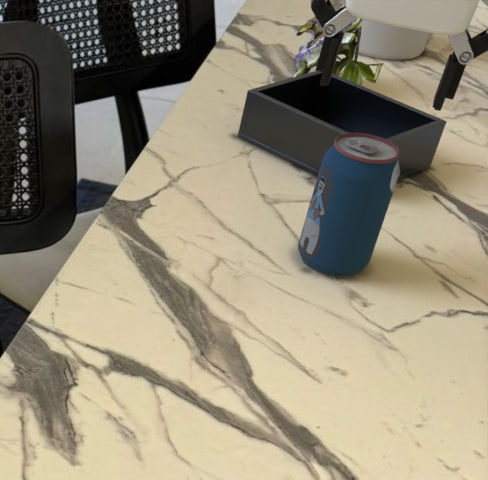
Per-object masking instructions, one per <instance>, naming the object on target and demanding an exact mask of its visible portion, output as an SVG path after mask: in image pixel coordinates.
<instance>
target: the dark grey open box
mask: <svg viewBox="0 0 488 480" xmlns="http://www.w3.org/2000/svg"><path fill="white" fill-rule="evenodd" d="M322 74H323V72H320V71H316V70H313V71H309V72H308V73H307V74H303V75H300V76H296V77H293V76H292V77H289V78H286V79H283V80H278V81H277V82H276V81H275V82H271V83H269V84H265V85H262V86H258V87H255V88H252V89H251V88H250V89H247V93H246V97H245V100H244V101H245V102H244V106H243V110H242V114H241V119H240V123H239V128H238V133H237V138H238V139H240V140H242V141H244V142H246V143H248V144H250V145H252V146H254V147H256V148H258V149H260V150H263V151H264V152H267V153H269V154H271V155H273V156H274V157H277V158H279V159H281V160H283V161H285V162H287V163H289V164H291V165H292V166H295V167H297V168H299V169H301V170H303V171H305V172H307V173H309V174H311V175H313V176H316V177H318V174H319V170H320V167H321V163H322V160H323V157H324V155H325V153H326V152H327V151H328V150H329V149H330V148H331V147H332V146H333V145H334V142H335V139H336V138H337V137H338V136H340V135H342V134H346V133H364V134H370V135H374V136H378V137H381V138H384V139H386V140H389V141H390V142H392V143H393V144H395V145H396V146H397V148H398V149H399V156H398V161H399V167H400V174H399V177H398V180H397V182H400V181H402V180H404V179H407V178H409V177H412V176H415V175H417V174H419V173H422V172H425V171H427V170H429V169H430V168H431V166H432V164H433V161H434V157H435V155H436V152H437V150H438V147H439V144H440V142H441V138H442V135H443V132H444V130H445V127H446V125H447V121H446V120H444V119H442V118H440V117H437V116H435V115H433V114H430V113H428V112H425V111H424V110H420V109H418V108H416V107H413V106H411V105H409V104H406V103H404V102H402V101H399V100H396V99H394V98H392V97H390V96H387V95H385V94H382V93H380V92H377V91H375V90H372V89H370V88H368V87H366V86H363V85H362V84H361V85H358V84H356V83H354V82H351V81H349V80H347V79H344V78H342V76H340V75H339V76H337V75H335V74H332V77H331V79H330V81H329V84H328V85H326V86H321V85H319V84H320V81H321V77H322Z"/></svg>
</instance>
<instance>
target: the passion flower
mask: <svg viewBox="0 0 488 480" xmlns="http://www.w3.org/2000/svg"><path fill="white" fill-rule="evenodd" d="M362 20H363V19H360V18H357V19H355V20H354V21H353V22H351V23H350V24H349V25H347V26H346V27H345V28H343V31H342V32H344V36H343V39H342V43H341V46H340V50H339V53H338V56H337V60H336V63H335V67H334V70H333V74H335V75H337V76H339V77H340V73H341V71H342V70H343V72H342V76H341V77H342V78H344V79H347V80H349V81H351V82H354V83H356V84H358V85H361V86H362V84H363V77H364V78H365V80H366V81H368V82H370V83H372V84H377V81H378V80H379V79H378V78H379V75H380V73H381V69H382V67H383V66H384V65H385V64H384V63H383V62H382V63H379V62H378V63H365V62H363V61H358V58H359V53H358V52H359V43H360V38H361V29H362V27H361V23H362V22H361V21H362ZM317 24H319V22H318V20H317V18H316V16H315V15H314V17H312V18H311V19H310V18H309V19H308V20H307V22H306V23H305V24H303V25H302V26H301V27H300V28H299V29H298V31H297V32H296V34H295V36H296V37H300V36H301V35H303V34H304V33H306V32H308V31H310V30H311V31H313V34H312V36H311V38H310V39H309V40H308V41H306V42H305V43H304V45H301V46H299V49H298V53H297V54H295V57H294V59H293V61H294V65H295V68H296V69H297V72H295V73H294V75H293V76H292V78H293V77H296V76H300V75H303V74H307V73H310V72H311V70H312V68H316V66H317V63H318V59H319V55H320V52H321V48H322V45H323V41H324V37H325V35H324V34H323V29H321V31H320V30H318V28H317V26H316V25H317ZM353 31H355V32H353ZM356 37H357V42H356ZM355 50H356V51H355ZM340 55H343V56H345V57H342V58H341V57H340ZM371 66H372V67H376V68H375V73H374V71H373V70H372V68H371Z"/></svg>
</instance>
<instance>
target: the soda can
mask: <svg viewBox="0 0 488 480" xmlns="http://www.w3.org/2000/svg"><path fill="white" fill-rule="evenodd" d="M398 156H399V149H398V148H397V146H396V145H395V144H393V143H392V142H390V141H389V140H386V139H384V138H381V137H378V136H374V135H370V134H364V133H346V134H342V135H340V136H338V137H337V138H336V139H335V142H334V145H333V146H332V147H331V148H330V149H329V150H328V151H327V152H326V153H325V155H324V157H323V160H322V163H321V167H320V170H319V174H318V177H317V176H316V177H317V178H316V181H315V184H314V187H313V188H314V189H313V191H312V195H311V198H310V201H309V205H308V209H307V212H306V216H305V219H304V222H303V226H302V230H301V233H300V237H299V240H298V243H297V247H298V252H299V256H300V258H301V261H302V263H303V264H304V265H305V266H306V267H307V268H308V269H310V270H312V271H314V272H316V273H318V274H321V275H325V276H329V277H334V278H347V277H348V278H349V277H353V276H356V275H357V274H358V273H360V272H361V271H363V270H364V269H365V268H366V267H367V266H368V265H369V263H370V262H371V259H372V256H373V253H374V251H375V247H376V244H377V242H378V238H379V236H380V233H381V230H382V228H383V224H384V221H385V218H386V215H387V212H388V209H389V206H390V203H391V201H392V197H393V194H394V191H395V189H396V186H397V182H398V181H397V180H398V177H399V174H400V167H399V161H398Z"/></svg>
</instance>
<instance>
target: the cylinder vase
mask: <svg viewBox="0 0 488 480" xmlns="http://www.w3.org/2000/svg"><path fill="white" fill-rule="evenodd" d="M345 3H346V1H345V2H344V4H345ZM361 22H362V23H361V27H362V29H361V38H360V43H359V52H358V55H359V54H360V55H361V56H362V55H363V56H366V57H370V58H375V59H381V60H388V61H389V60H390V61H405V60H412V59H415V58H417V57H419V56H420V55H421V54H422V53H423V52H424V51H425V48H426V46H427V43H428V39H429V35H430V33H427V32H422V31H417V30H412V29H407V28H402V27H397V26H392V25H387V24H382V23H377V22H372V21H368V20H364V19H363V20H362V21H361ZM353 32H355V31H353ZM356 42H357V37H356ZM355 51H356V50H355Z"/></svg>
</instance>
